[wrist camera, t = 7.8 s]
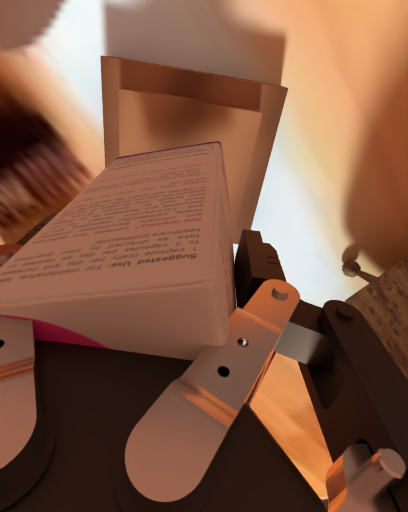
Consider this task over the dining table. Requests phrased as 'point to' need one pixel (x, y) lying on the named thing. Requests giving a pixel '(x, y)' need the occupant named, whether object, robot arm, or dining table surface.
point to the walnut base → (203, 90)
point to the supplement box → (134, 259)
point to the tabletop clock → (385, 307)
